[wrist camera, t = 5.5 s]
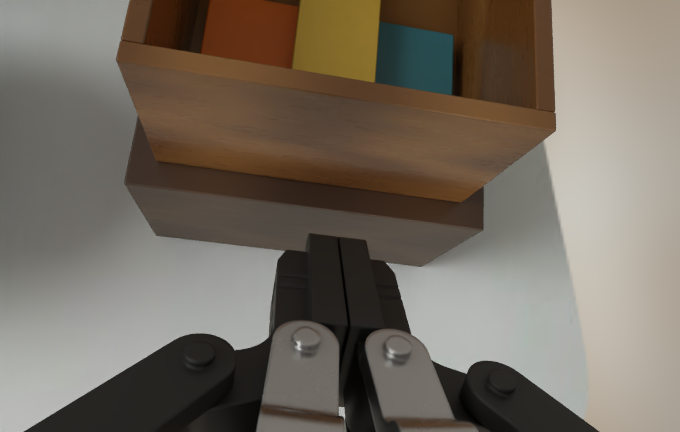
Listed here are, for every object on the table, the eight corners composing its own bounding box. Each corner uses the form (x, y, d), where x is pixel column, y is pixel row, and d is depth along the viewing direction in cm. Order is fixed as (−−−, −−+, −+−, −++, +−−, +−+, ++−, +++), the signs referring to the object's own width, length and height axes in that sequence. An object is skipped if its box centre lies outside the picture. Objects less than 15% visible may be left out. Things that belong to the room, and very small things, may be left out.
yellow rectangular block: (300, -11, 21) (304, -33, 20) (375, 3, 22) (382, -17, 21) (288, 91, 20) (291, 74, 19) (367, 104, 20) (374, 88, 19)
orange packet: (323, 29, 22) (327, 10, 21) (316, 94, 22) (320, 78, 20) (212, 9, 22) (210, -11, 21) (200, 75, 21) (198, 58, 20)
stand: (428, 87, 33) (485, 1, 25) (421, 266, 30) (484, 230, 22) (190, 47, 31) (173, -59, 23) (155, 235, 28) (123, 183, 20)
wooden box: (465, -5, 25) (547, -141, 18) (461, 203, 22) (556, 130, 15) (197, -57, 23) (180, -228, 17) (155, 161, 20) (115, 59, 14)
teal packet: (444, 50, 23) (454, 33, 22) (442, 114, 22) (452, 100, 21) (340, 32, 22) (345, 14, 21) (333, 97, 22) (339, 81, 21)
